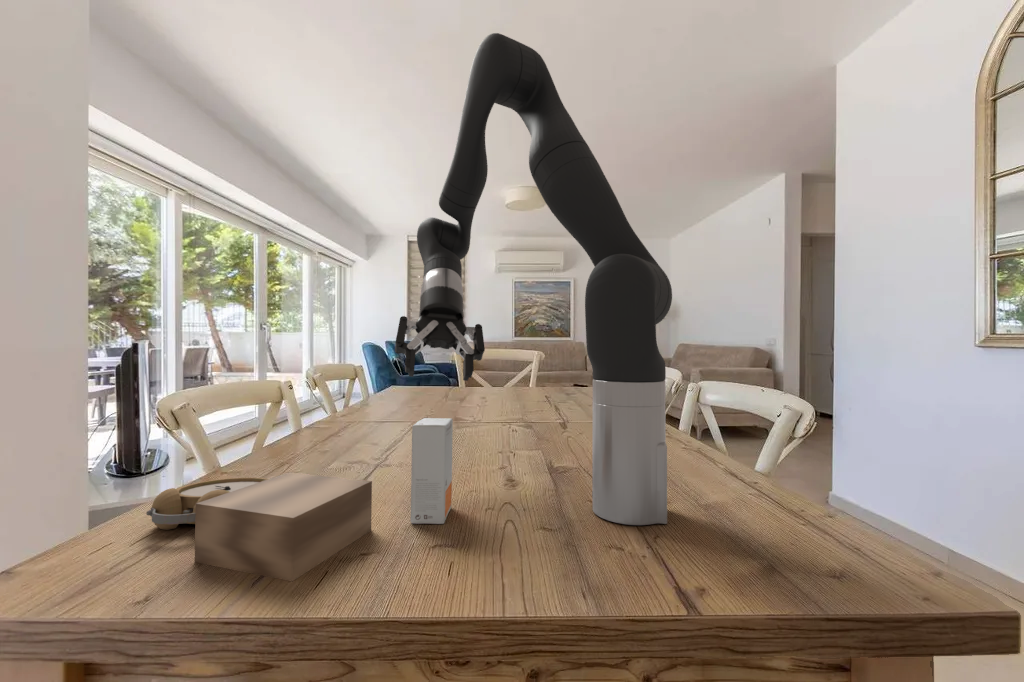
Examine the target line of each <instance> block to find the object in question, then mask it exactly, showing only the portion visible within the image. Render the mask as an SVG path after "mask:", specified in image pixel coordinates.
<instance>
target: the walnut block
mask: <svg viewBox="0 0 1024 682" xmlns="http://www.w3.org/2000/svg"><path fill="white" fill-rule="evenodd" d="M372 485H373V481H372V480H364V479H357V478H355V479H354V478H346V477H340V476H339V477H338V476H328V475H320V474H318V475H317V474H309V473H301V472H293V471H289V472H286V473H282V474H280V475H277V476H273V477H271V478H267V480H264V481H261V482H259V483H256V484H253V485H250V486H247V487H244V488H241V489H238V490H235V491H232V492H229V493H226V494H223V495H220V496H217V497H214V498H211V499H208V500H205V501H202V502H199V503H196V514H195V524H194V525H195V528H194V563H199V564H202V565H208V566H213V567H218V568H223V569H228V570H234V571H239V572H244V573H249V574H254V575H259V576H264V577H269V578H272V579H274V578H275V579H280V580H283V581H289V582H293V581H295V580H297V579H298V578H300V577H301V576H303V575H304V574H306V573H307V572H309V571H310V570H312V569H314V568H316V567H317V566H318V565H320V564H322V563H323V562H324V561H326V560H328V559H329V558H331V557H332V556H333V555H335V554H337V553H338V552H340V551H342V550H343V549H344V548H346V547H348V546H349V545H351V544H352V543H354V542H355V541H357V540H359V539H360V538H361V537H364V536H365V535H366V534H368V533H369V532H371V531H372V510H373V509H372V506H373V505H372V503H373V501H372V500H373V499H372V497H373V496H372V495H373V494H372V493H373V486H372Z"/></svg>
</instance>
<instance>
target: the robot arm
mask: <svg viewBox="0 0 1024 682" xmlns="http://www.w3.org/2000/svg"><path fill="white" fill-rule="evenodd" d="M474 54H475V55H474V57H473V60H472V64H471V67H470V71H469V77H468V80H467V84H466V85H467V86H466V92H465V97H464V101H463V105H462V110H461V111H462V112H461V117H460V123H459V127H458V128H459V129H458V133H457V139H456V140H457V141H456V144H455V150H454V153H453V157H452V160H451V163H450V167H449V170H448V172H447V175H446V178H445V180H444V184H443V186H442V190H441V192H440V196H439V199H438V206H439V208H440V209H441V211H443V212H444V213H445V214H446V215H448V216H449V217H451V218H452V219H454V220H455V221H457V224H455V223H452V222H448V221H446V220H443V219H440V218H437V217H428V218H425V219H424V220H423V221H421V223H420V224H419V226H418V229H417V230H416V231H417V233H416V242H417V247H418V252H419V254H420V257H421V260H422V263H423V275H422V276H423V278H422V280H423V281H422V283H421V288H420V295H419V300H420V302H419V314H418V315H419V316H418V319H417V320H416V321H414V320H408V317H407V316H405V315H402V316H400V318H399V321H398V327H397V332H396V333H397V334H396V336H395V337H396V338H395V345H394V352H395V354H398V355H399V354H403V356H405V362H404V372H405V373H407V374H408V377H413V378H414V375H415V367H416V366H415V363H416V355H417V354H418V353H419V352H422V351H423V350H424V349H425V348H426V347H427V346H428V347H430V349H438V348H441V349H443V350H450V349H452V350H453V351H454V353H455V354H456V355H459V356H460V357H461V358H462V359H463V362H462V376H463V379H462V380H463V381H466V382H467V381H469V378H472V377H473V374H474V369H475V367H474V361H482V360H483V356H484V353H485V350H486V349H485V340H484V332H483V325H482V324H480V323H477V324H475V326H467V325H465V322H464V288H463V282H462V281H463V279H462V277H463V276H462V271H463V269H462V263H461V262H462V261H461V260H462V259H464V258H465V257H466V256H467V255H468V253H469V249H470V245H471V233H472V226H473V219H474V216H475V212H476V209H477V206H478V205H479V202H480V199H481V196H482V194H483V191H484V190H485V186H486V183H487V181H488V180H487V179H488V167H489V166H488V156H487V149H486V128H487V123H488V119H489V116H490V114H491V111H492V109H493V108H494V105H495V104H496V105H500V106H502V107H506V108H508V109H511V110H512V111H514V112H515V113H517V115H519V117H520V118H521V120H522V121H523V123H524V124H525V127H526V128H527V130H528V132H529V135H530V137H531V141H530V145H529V151H528V152H529V153H528V167H529V171H530V174H531V176H532V179H533V181H534V184H535V185H536V187H537V189H538V192H539V193H540V196H541V197H542V199H543V201H544V202H545V204H546V205H547V208H548V209H549V210H550V212H551V213H552V214H553V215H554V217H555V218H556V219H557V221H559V223H560V224H561V225H562V226H563V228H565V230H566V231H567V232H568V233H569V234H570V235H571V236H572V237H573V238H574V239H575V240H576V242H577V243H578V244H579V245H580V246H581V248H582V249H583V250H584V251H585V253H586V254H587V256H588V257H589V259H590V261H591V263H592V265H593V266H594V267H593V269H592V271H591V273H590V274H589V277H588V279H587V283H586V288H585V295H584V315H585V317H584V318H585V319H584V320H585V338H586V339H585V341H586V352H587V357H588V360H589V362H590V365H591V367H592V369H591V370H592V433H591V434H592V440H591V441H592V443H591V444H592V463H591V464H592V465H591V466H592V472H591V473H592V484H591V485H592V489H591V490H592V492H591V493H592V494H591V496H592V497H591V498H592V512H593V513H594V514H595V515H596V516H598V517H600V518H601V519H604V520H606V521H609V522H613V523H616V524H622V525H629V526H646V525H648V526H649V525H654V524H663V525H666V524H668V446H667V443H666V441H667V437H666V431H667V430H666V429H667V428H666V420H667V419H666V410H667V409H666V406H667V405H666V380H667V379H666V378H667V377H666V372H667V371H666V362H665V358H664V357H663V356H662V354H661V352H660V349H659V346H658V342H657V327H656V326H657V325H658V324H659V323H661V322H662V321H663V320H664V319H665V317H666V316H667V315H668V313H669V312H670V309H671V306H672V302H673V289H672V284H671V282H670V279H669V277H668V275H667V274H666V272H665V270H663V269H662V267H661V265H659V264H658V262H657V260H655V258H654V257H653V256H652V254H651V253H650V252H649V250H648V249H647V248H646V246H645V245H644V243H643V242H642V240H641V239H640V237H638V235H637V234H636V232H635V230H634V229H633V227H632V226H631V224H630V222H629V221H628V219H627V217H626V215H625V212H624V209H623V208H622V206H621V203H620V202H619V200H618V198H617V196H616V194H615V192H614V190H613V188H612V186H611V185H610V182H609V180H608V179H607V177H606V175H605V174H604V172H603V171H604V170H603V169H602V167H601V166H600V164H599V162H598V161H597V159H596V157H595V155H594V153H593V152H592V150H591V148H590V146H589V145H588V143H587V142H586V140H585V139H584V137H583V135H582V134H581V133H580V130H579V129H578V127H577V125H576V123H575V122H574V120H573V118H572V117H571V115H570V113H569V112H568V110H567V109H566V107H565V105H564V103H563V101H562V99H561V97H560V95H559V93H558V90H557V88H556V86H555V83H554V80H553V77H552V75H551V73H550V71H549V68H548V66H547V64H546V62H545V60H544V58H543V57H542V56H541V54H540V53H539V52H538V51H536V50H535V49H534V48H532V47H530V46H528V45H526V44H524V43H522V42H520V41H517V40H515V39H513V38H511V37H509V36H507V35H504V34H501V33H500V32H499V33H498V32H495V33H490V34H489V35H487V36H485V37H484V39H482V40H481V42H480V44H479V45H478V47H477V49H476V52H475V53H474ZM412 330H415V332H416V333H417V334H415V337H414V338H413V339H412V340H411V341H409V343H408V342H405V339H406V335H409V334H410V333H411V332H412ZM466 335H467V336H468V337H469V339H470V341H473V343H472V344H473V348H472V346H470V344H469V343H468V341H467V338H466V337H465V336H466Z"/></svg>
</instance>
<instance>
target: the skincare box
mask: <svg viewBox="0 0 1024 682" xmlns="http://www.w3.org/2000/svg"><path fill="white" fill-rule="evenodd" d="M453 423H454V422H453V418H452V417H451V418H450V417H449V418H448V417H447V418H445V417H444V418H442V417H438V418H437V417H434V418H433V417H424V418H422V419H420V420H417V422H415V423H414V424H413V425H412V427H411V429H412V430H411V472H410V473H411V475H410V476H411V477H410V480H411V484H410V485H411V486H410V523H411V524H417V525H418V524H419V525H420V524H424V525H425V524H433V525H444V524H445V522H446V519H447V517H448V514H449V512H450V511H451V509H452V502H453V501H452V499H453V498H452V496H453V495H452V491H453V488H452V487H453V427H454V426H453V425H454V424H453Z"/></svg>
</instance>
